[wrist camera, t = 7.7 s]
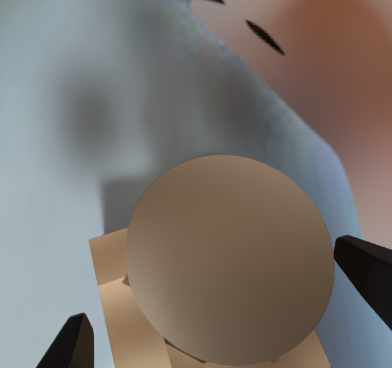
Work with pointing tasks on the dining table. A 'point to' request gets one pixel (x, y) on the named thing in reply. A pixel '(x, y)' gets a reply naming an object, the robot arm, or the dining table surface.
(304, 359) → the socket block
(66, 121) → the dining table surface
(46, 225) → the dining table surface
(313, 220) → the dowel pin
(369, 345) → the dining table surface
